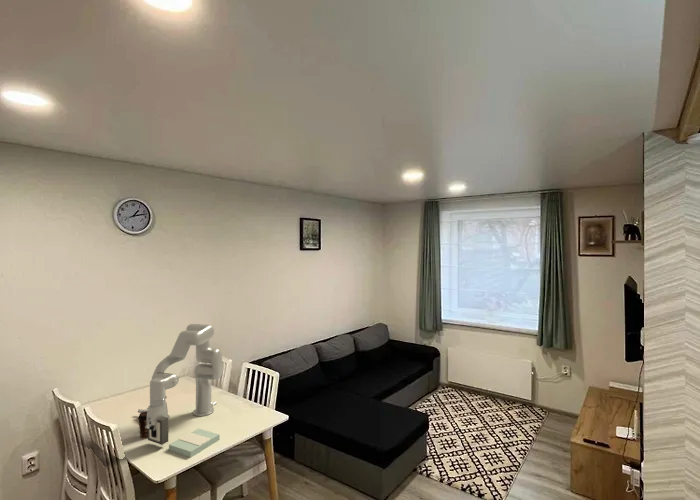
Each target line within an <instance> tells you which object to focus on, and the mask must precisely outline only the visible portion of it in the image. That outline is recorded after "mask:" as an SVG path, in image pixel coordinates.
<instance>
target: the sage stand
mask: <svg viewBox="0 0 700 500" xmlns="http://www.w3.org/2000/svg"><path fill="white" fill-rule="evenodd" d="M219 441H220V434H219V433H216V432H213V431H209V430H205V429H202V428H196V429H195V430H193V431H191V432H189V433H188V434H185V435H183V436H182V437H180V438H178V439H176V440H174V441H172V442H170V443H169V444H168V451H170V452H173V453H177V454H180V455H181V456H184V457H187V458H193V457H194V456H196V455H197V454H199V453H200V452H203V451H204V450H206V449H207V448H209V447H211V446H212V445H213V444H215V443H217V442H219Z"/></svg>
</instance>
